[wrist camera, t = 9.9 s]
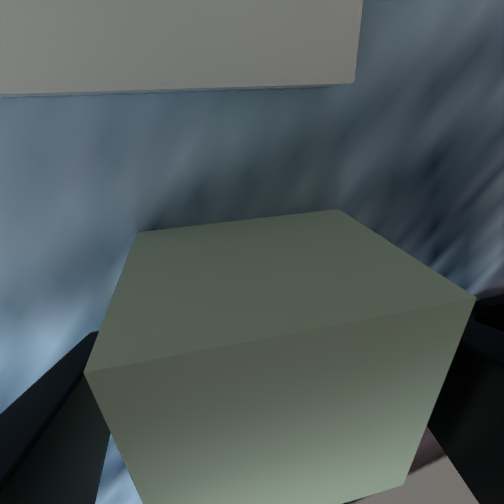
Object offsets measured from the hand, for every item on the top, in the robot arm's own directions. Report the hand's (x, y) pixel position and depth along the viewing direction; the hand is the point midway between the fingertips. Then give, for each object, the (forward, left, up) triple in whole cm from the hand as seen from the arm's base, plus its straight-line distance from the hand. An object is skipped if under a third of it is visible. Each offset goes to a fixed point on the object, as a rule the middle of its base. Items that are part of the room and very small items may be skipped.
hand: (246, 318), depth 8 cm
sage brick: (0, 0, -1) cm, 1 cm away
